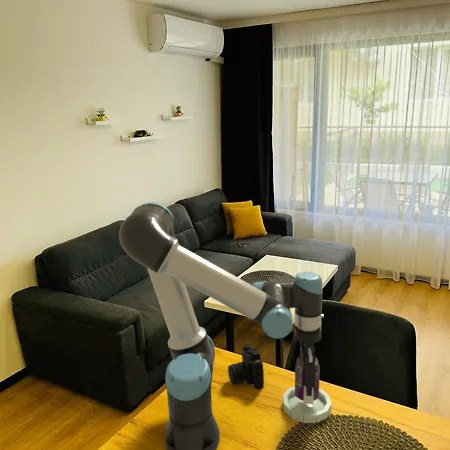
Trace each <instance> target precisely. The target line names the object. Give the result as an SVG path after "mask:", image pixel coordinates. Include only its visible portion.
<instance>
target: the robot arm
mask: <svg viewBox="0 0 450 450" xmlns="http://www.w3.org/2000/svg"><path fill="white" fill-rule="evenodd" d="M173 216H174V215H173V213H172V211H170V209H169V208H168V207H166V206H165V205H163V204H162V203H159V202H154V201H153V202H145V203H143V204H141V205H138V206H137V207H136V208H134V210H133V211H132V212H131V214H130V215H129V216H127V217H126V218H125V219H124V220H123V222H122V223H121V224H120V228H119V233H118V238H119V239H118V240H119V243H120V246H121V247H122V249H123V250H124V252H125V253H126V254H127V255H128V256H129V257H130V258H131V259H133V260H134V261H135V262H137V263H138V264H140V265H141V266H143V267H145V268H146V269H147V273H148V275H149V277H150V281H151V283H152V287H153V289H154V292H155V295H156V298H157V301H158V303H159V307H160V309H161V312H162V315H163V318H164V321H165V323H166V327H167V329H168V332H169V335H170V337H169V339H168V341H167V345H168V349H169V352H170V354H171V357H172V360H170V362H169V364H168V365H167V367H166V369H165V370H166V371H165V379H164V380H165V381H164V382H165V387H166V393H167V395H166V396H167V406H168V407H167V409H168V416H169V417H168V421H167V424H166V428H165V431H164V438H163V439H164V447H165V450H217V449H218V446H219V444H220V441H221V440H220V438H221V435H220V429H219V425H218V423H217V420H216V419H215V415H214V414H213V405H212V404H213V403H212V402H213V401H212V381H213V373H214V372H213V371H214V362H215V359H216V348H215V344H214V343H213V340H212V338H211V337H210V336H209V335H208V334H207V331H206V329H205V328H204V327H202V326H199V323H198V320H197V317H196V314H195V311H194V307H193V304H192V301H191V299H190V295H189V293H188V292H189V291H188V289H187V286H189V287H191V288H193V289H194V290H196V291H198V292H200V293H202V294H203V295H206V297H207V296H208V297H209V298H212V299H213V300H215V301H216V302H219V303H221V304H222V305H224V306H226V307H228V308H230V309H231V310H233V311H235V312H237V313H239V314H240V315H243V316H244V317H246V318H248V319H249V320H252V321H253V322H255V323H257V324H259V325H261V327H262V329H263V332H264V333H265V334H266V335H267V336H268V337H270V338H272V339H282V338H283V339H284V338H285V337H286V336H288V335H290V333H291V331H292V329H293V326H294V338H295V339H296V341H298V342H299V346H300V351H299V353H300V354H299V357H300V356H302V360H303V361H304V374H305V383H302V386H304V404H313V394H314V388H315V358H317V357H316V354H315V353H316V345H315V344H316V343H318V342H320V341H321V339H322V319H323V318H324V314H323V313H322V309H323V292H324V291H323V279H322V276H321V275H320V274H318V273H316V272H315V271H314V272H313V271H303V272H298V273H296V275H295V276H294V280H288V281H287V280H286V281H284V280H281V281H280V280H278V281H277V280H275V281H270V280H269V281H268V280H264V281H256V282H254V283H252V284H250V283H249V282H246V281H245V280H243V279H241V278H239V277H237V275H235V274H233V273H230V272H229V271H226V270H225V269H223V268H222V267H219V266H218V265H216V264H214V263H212V262H210V261H209V260H207V259H205V258H203V257H201V256H200V255H197V253H194V252H192V251H191V250H189V249H187V248H186V247H183V246H181V245H180V244H179V241H178V239H177V238H176V235H175V230H174V227H175V223H174V217H173ZM186 285H187V286H186ZM291 309H294V320H293V314H292V312H291ZM293 321H294V323H293ZM293 324H294V325H293ZM304 357H306V358H304Z"/></svg>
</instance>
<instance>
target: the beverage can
mask: <svg viewBox="0 0 450 450" xmlns="http://www.w3.org/2000/svg"><path fill="white" fill-rule="evenodd" d="M304 358H306V357H304ZM294 366H295V367H294V386H295V395H296V397H297V398H298V399H300V400H302V401H304V386H302V383H305V374H304V361H303V360H302V356H300V355H299V356H298V357H297V359H296V362H295V365H294ZM320 370H321V369H320V364H319V359H318V358H317V357H316V358H315V388H314V394H313V401H314V400H316V399H317V398H318V397H319V388H320V373H321V372H320Z"/></svg>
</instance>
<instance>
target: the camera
mask: <svg viewBox="0 0 450 450" xmlns="http://www.w3.org/2000/svg"><path fill="white" fill-rule="evenodd" d="M264 371H265V370H264V363H263V361H262V358H261V354H260V352H259V351H258V350H257V348H255V347H252V345H251V344H249V343H246V344H244V345H242V346H241V361H240V362H236V363H232V364H230V365H228V367H227V372H228V374H227V375H228V378H229V381H230V383H231V385H239V384H242V383H247V384H248V385H252V386H253V387H254V388H255V390H258V391H259V390H262V389H263V388H265V381H264V380H265V379H264V377H265V376H264Z"/></svg>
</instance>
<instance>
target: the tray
mask: <svg viewBox="0 0 450 450" xmlns="http://www.w3.org/2000/svg"><path fill="white" fill-rule="evenodd" d="M282 407H283V412H285V414H286V415H288V416H289V418H291V420H293V421H294V420H295V421H297V422H299V423H302V424H317V423H320V422H321V420H322V421H325V420H327V419H328V417H329V415H330V414H331V412H332V401H331V396H330V395H329V394H328V393H327V392H326V391H325V390H323V389H322V388H320V387H319V397H318V398H317V399H316V400H314V401H313V404H304V401H302V400H300V399H298V398H297V397H296V395H295V385H294V386H292V387H289V388H287V389H286V391H285V392H284V393H283V395H282ZM324 419H325V420H324ZM316 422H317V423H316Z"/></svg>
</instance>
